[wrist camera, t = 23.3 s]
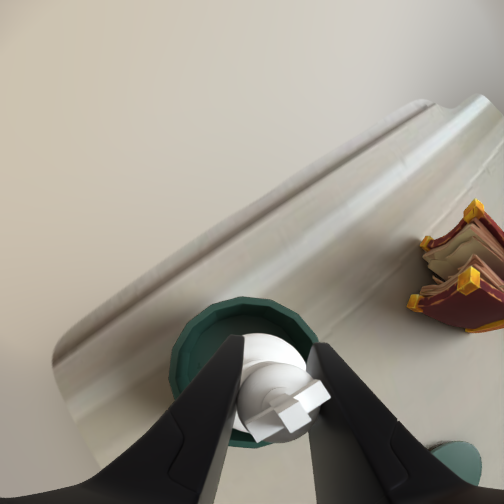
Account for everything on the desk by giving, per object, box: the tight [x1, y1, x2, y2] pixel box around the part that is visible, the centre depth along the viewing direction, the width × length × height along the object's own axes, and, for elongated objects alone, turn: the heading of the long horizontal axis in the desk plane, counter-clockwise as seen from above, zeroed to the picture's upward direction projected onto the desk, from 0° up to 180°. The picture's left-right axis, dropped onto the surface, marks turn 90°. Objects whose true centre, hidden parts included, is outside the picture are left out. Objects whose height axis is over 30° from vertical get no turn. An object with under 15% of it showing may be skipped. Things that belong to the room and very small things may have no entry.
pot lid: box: [430, 441, 482, 486], centre depth 15 cm, size 9×9×5 cm
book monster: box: [407, 198, 504, 333], centre depth 19 cm, size 11×9×12 cm
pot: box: [169, 297, 319, 448], centre depth 19 cm, size 8×8×5 cm
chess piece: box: [233, 333, 331, 443], centre depth 10 cm, size 5×5×10 cm
